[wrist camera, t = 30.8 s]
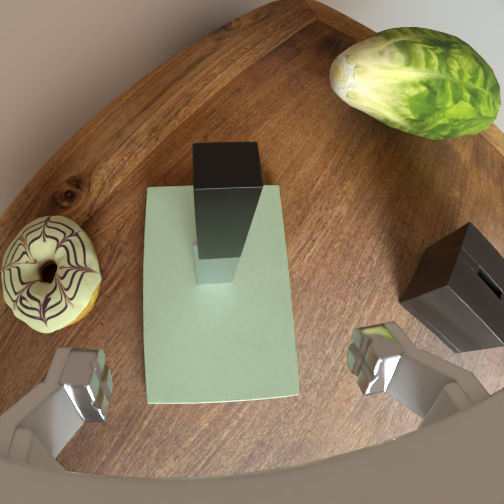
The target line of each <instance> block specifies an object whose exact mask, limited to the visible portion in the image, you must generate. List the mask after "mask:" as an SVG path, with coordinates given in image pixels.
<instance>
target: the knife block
mask: <svg viewBox="0 0 504 504" xmlns="http://www.w3.org/2000/svg"><path fill="white" fill-rule="evenodd" d="M399 303H400V304H401V305H402V306H403V307H404V308H405V309H407V310H408V311H409V312H410V313H411V314H412V315H414V316H415V317H416V318H417V319H418V320H419V321H420V322H421V323H423V324H424V325H425V326H426V327H427V328H428V329H429V330H431V331H432V332H433V333H434V334H435V335H436V336H437V337H438V338H439V339H441V340H442V341H443V342H444V343H445V344H446V345H447V346H448V347H449V348H450V349H452V350H453V351H454V352H455V353H460V352H467V351H475V350H482V349H489V348H495V347H501V346H504V258H503V257H502V256H501V255H500V254H499V252H498V251H497V250H496V249H495V248H494V247H493V246H492V245H491V243H490V242H489V241H488V240H487V239H486V238H485V237H484V236H483V235H482V234H481V233H480V232H479V230H478V229H477V228H476V227H475V226H474V225H473V224H472V223H471V222H468V223H467V224H465V225H464V226H462V227H461V228H459V229H457V230H456V231H454V232H452V233H451V234H449V235H448V236H446V237H444V238H443V239H441V240H439V241H438V242H436V243H434V244H433V245H431V246H429V247H428V248H426V250H425V252H424V255H423V257H422V259H421V261H420V263H419V265H418V267H417V269H416V271H415V273H414V275H413V277H412V279H411V281H410V283H409V285H408V287H407V289H406V291H405V293H404V295H403V297H402V299H401V301H400V302H399Z"/></svg>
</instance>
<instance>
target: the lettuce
mask: <svg viewBox="0 0 504 504" xmlns="http://www.w3.org/2000/svg"><path fill="white" fill-rule="evenodd" d="M329 78H330V85H331V87H332V90H333V91H334V92H335V93H336V94H337V95H338V96H339V97H340V98H341V99H342V100H343V101H344V102H346V103H347V104H348V105H349V106H351V107H353V108H356V109H358V110H360V111H362V112H364V113H366V114H368V115H369V116H371V117H372V118H374V119H375V120H377V121H379V122H381V123H383V124H385V125H387V126H390V127H392V128H395V129H398V130H401V131H404V132H407V133H410V134H413V135H417V136H422V137H425V138H428V139H431V140H434V141H436V140H441V139H447V138H455V137H460V136H463V135H466V134H477V133H479V132H481V131H483V130H485V129H487V128H488V127H489V126H490V125H491V123H492V122H493V121H494V120H495V119H496V117H497V114H498V111H499V108H500V105H501V99H500V86H499V84H498V82H497V79H496V77H495V74H494V72H493V70H492V68H491V67H490V66H489V65H488V64H487V62H486V61H485V60H484V59H483V58H482V57H481V56H480V55H479V54H478V53H477V52H476V51H474V49H473V48H472V47H470V45H468V44H467V43H466V42H464V41H462V40H461V39H459V38H457V37H455V36H452V35H449V34H446V33H443V32H439V31H435V30H431V29H427V28H418V27H402V28H392V29H388V30H384V31H381V32H378V33H376V34H375V35H373V36H372V37H370V38H369V39H367V40H364V41H362V42H359V43H357V44H354V45H352V46H351V47H349V48H348V49H346V50H345V51H343V52H342V53H341V54H340V55H339V56H337V57H336V58H335V59H334V61H333V63H332V64H331V68H330V76H329Z"/></svg>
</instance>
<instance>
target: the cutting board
mask: <svg viewBox="0 0 504 504" xmlns="http://www.w3.org/2000/svg"><path fill="white" fill-rule="evenodd" d="M193 241H197V235H196V222H195V208H194V192H193V186H165V187H148V188H147V201H146V216H145V234H144V261H143V334H144V360H145V378H146V393H147V403H155V404H183V403H215V402H233V401H246V400H258V399H268V398H278V397H286V396H294V395H299V394H300V393H299V379H298V367H297V354H296V343H295V331H294V320H293V310H292V299H291V289H290V280H289V270H288V260H287V251H286V242H285V233H284V225H283V216H282V208H281V200H280V191H279V185H263V189H262V192H261V195H260V199H259V202H258V205H257V208H256V211H255V214H254V217H253V220H252V223H251V226H250V229H249V233H248V236H247V239H246V242H245V245H244V248H243V251H242V254H241V257H240V259H239V262H238V266H237V269H236V272H235V275H234V278H233V281H232V283H219V284H203V285H198V283H197V276H196V268H195V261H194V253H193V243H192V242H193Z"/></svg>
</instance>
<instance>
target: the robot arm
mask: <svg viewBox="0 0 504 504" xmlns="http://www.w3.org/2000/svg"><path fill="white" fill-rule="evenodd" d="M351 338H352V339H353V341H354V342H353V343H352V344H351V345H350V347H349V348H348V352H347V363H348V366H349V369H350V371H351V373H353V374H354V375H356V376H358V380H357V384H358V385H359V387H360V389H361V391H362V393H363V395H364V396H367V395H371V394H375V393H380V392H384V391H386V393H387V394H389V395H390V396H391V397H393V398H394V399H396V400H397V401H399V402H400V403H401V404H403V405H404V406H406V407H407V408H409V409H410V410H411V411H413V412H414V413H416V414H417V415H419V416H420V417H421V418H423V420H422V422H421V423H420V425H419V426H418V428H417V430H415V431H412V432H410V433H407V434H404V435H402V436H399V437H396V438H393V439H390V440H388V441H385V442H382V443H379V444H375V445H372V446H369V447H366V448H363V449H359V450H356V451H352V452H349V453H345V454H341V455H337V456H334V457H330V458H325V459H321V460H317V461H312V462H308V463H303V464H298V465H293V466H287V467H282V468H276V469H270V470H263V471H256V472H248V473H240V474H230V475H219V476H206V477H185V478H141V477H121V476H108V475H97V474H88V473H80V472H73V471H66V470H65V469H64V468H63V467H62V466H61V465H60V464H59V462H58V461H57V460H56V459H55V458H56V457H57V455H58V454H59V453H60V452H61V450H62V449H63V448H64V447H65V445H66V444H67V443H68V442H69V440H70V439H71V438H72V437H73V435H74V434H75V433H76V432H77V430H78V429H79V428H80V427H81V425H82V424H83V423H84V422H83V421H87V422H108V415H109V409H110V405H109V403H108V401H107V399H108V398H109V397H110V396H111V395H112V389H113V383H112V375H111V371H110V369H109V367H108V366H107V365H105V364H104V363H105V358H106V357H105V355H104V352H103V350H101V349H92V348H64V347H59V348H58V349H57V350H56V352H55V355H54V357H53V360H52V362H51V365H50V368H49V370H48V373H47V376H46V379H45V381H44V383H39V384H38V385H37V386H36V387H35V388H33V389H32V390H31V391H30V392H28V393H27V394H26V395H25V396H24V397H22V398H21V399H20V400H19V401H18V402H16V403H15V404H14V405H13V406H12V407H10V408H9V409H8V410H7V411H6V412H4V413H3V414H2V415H1V416H0V504H504V388H502V389H501V390H499V391H497V392H495V393H494V394H492V395H490V394H489V393H488V392H487V391H486V389H485V388H484V387H483V385H482V384H481V383H480V382H479V380H478V379H477V378H476V377H475V375H474V374H473V373H471V372H469V371H467V370H465V369H463V368H460V367H458V366H456V365H454V364H452V363H450V362H448V361H446V360H443V359H441V358H439V357H437V356H435V355H433V354H431V353H429V352H427V351H424V350H422V349H417V348H416V347H415V346H414V344H413V343H412V342H411V340H410V339H409V338H408V337H407V335H406V334H405V333H404V332H403V330H402V329H401V328H400V327H399V325H398V324H397V323H396V322H394V321H392V322H387V323H382V324H377V325H372V326H366V327H361V328H356V329H355V330H354V331H353V334H352V337H351Z"/></svg>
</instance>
